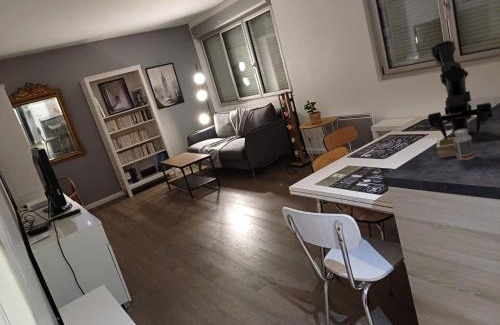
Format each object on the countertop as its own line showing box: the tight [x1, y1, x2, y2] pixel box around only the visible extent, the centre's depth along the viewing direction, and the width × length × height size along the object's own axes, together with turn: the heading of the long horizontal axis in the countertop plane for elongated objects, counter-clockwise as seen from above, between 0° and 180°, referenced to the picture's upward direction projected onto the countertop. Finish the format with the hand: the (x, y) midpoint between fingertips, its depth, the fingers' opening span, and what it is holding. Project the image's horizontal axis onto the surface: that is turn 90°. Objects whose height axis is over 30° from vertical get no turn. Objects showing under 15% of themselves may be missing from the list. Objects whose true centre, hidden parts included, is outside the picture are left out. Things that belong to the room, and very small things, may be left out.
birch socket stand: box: [436, 136, 456, 159], centre depth 129 cm, size 8×8×4 cm
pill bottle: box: [453, 129, 476, 161], centre depth 120 cm, size 5×5×10 cm
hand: (461, 137), depth 119 cm, fingers open, 9 cm apart
